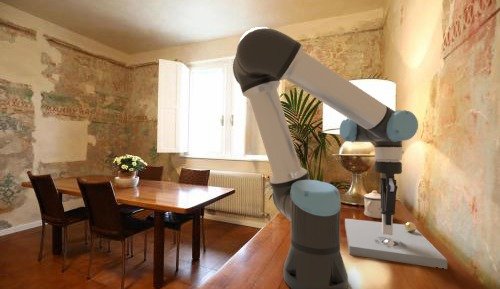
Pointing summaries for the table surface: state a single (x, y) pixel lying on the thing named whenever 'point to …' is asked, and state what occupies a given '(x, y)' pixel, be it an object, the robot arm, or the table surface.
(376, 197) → the teacup with lid
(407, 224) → the brass ball
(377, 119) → the robot arm
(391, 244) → the steel ball
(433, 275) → the table surface
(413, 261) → the plate
